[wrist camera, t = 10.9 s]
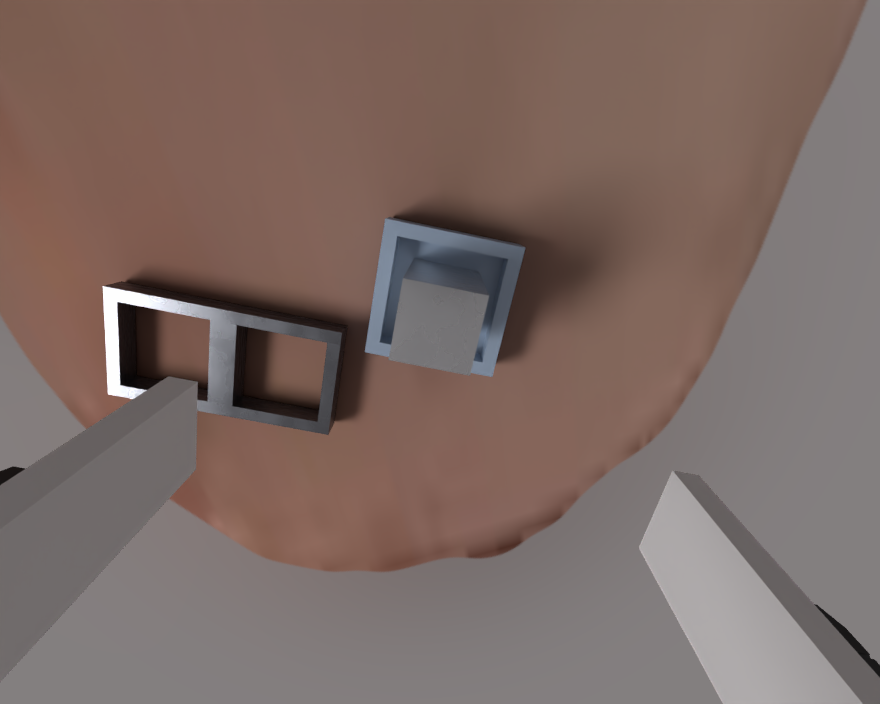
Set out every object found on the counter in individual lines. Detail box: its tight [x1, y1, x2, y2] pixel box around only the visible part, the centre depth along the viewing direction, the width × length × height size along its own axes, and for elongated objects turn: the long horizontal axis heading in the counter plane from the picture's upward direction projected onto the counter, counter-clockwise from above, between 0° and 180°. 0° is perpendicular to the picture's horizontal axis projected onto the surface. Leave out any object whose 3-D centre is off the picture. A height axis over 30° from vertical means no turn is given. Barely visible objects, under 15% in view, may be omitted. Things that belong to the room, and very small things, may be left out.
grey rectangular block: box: [389, 258, 489, 376], centre depth 30 cm, size 5×5×9 cm
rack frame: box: [103, 281, 347, 435], centre depth 36 cm, size 9×18×2 cm, turn 79°
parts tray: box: [365, 217, 525, 377], centre depth 34 cm, size 10×10×2 cm
